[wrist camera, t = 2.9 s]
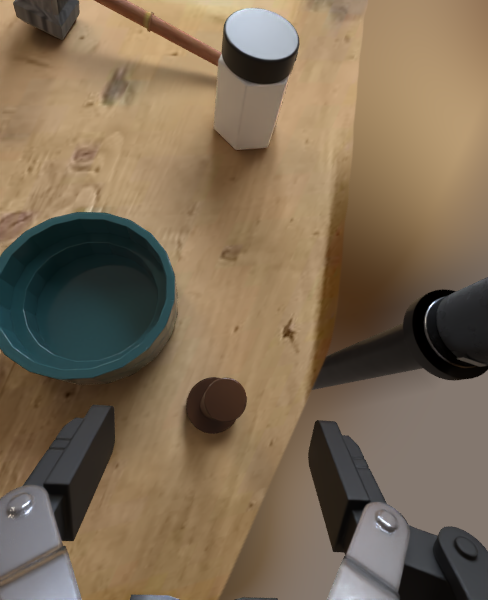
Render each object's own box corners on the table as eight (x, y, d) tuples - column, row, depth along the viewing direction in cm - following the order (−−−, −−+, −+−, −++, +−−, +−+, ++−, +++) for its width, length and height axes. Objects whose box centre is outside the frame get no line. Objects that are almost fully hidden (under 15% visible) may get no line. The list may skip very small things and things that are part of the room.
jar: (288, 134, 46) (318, 44, 35) (246, 162, 43) (264, 74, 32) (244, 94, 47) (260, -5, 36) (201, 119, 45) (204, 20, 33)
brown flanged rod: (217, 368, 34) (231, 340, 21) (248, 408, 33) (284, 405, 20) (176, 401, 33) (164, 393, 19) (208, 444, 32) (218, 466, 19)
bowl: (124, 219, 38) (112, 185, 33) (206, 321, 36) (209, 304, 30) (-10, 294, 33) (-51, 270, 28) (74, 419, 31) (47, 421, 25)
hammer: (265, 20, 38) (-29, -158, 30) (224, 122, 52) (17, 21, 44) (275, -10, 40) (1, -184, 32) (232, 97, 54) (36, -5, 46)
